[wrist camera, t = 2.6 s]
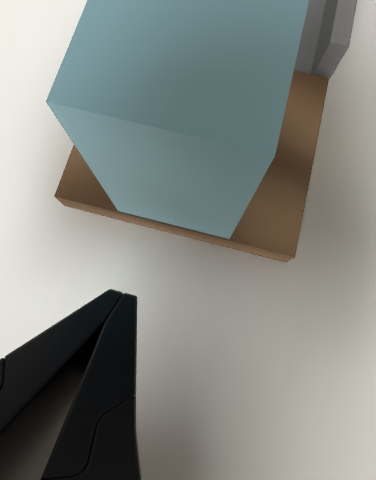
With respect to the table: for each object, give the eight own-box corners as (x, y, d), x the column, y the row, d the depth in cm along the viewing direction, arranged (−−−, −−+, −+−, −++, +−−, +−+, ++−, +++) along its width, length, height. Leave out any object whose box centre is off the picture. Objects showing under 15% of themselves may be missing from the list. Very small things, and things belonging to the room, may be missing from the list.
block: (229, 239, 17) (275, 155, 8) (118, 211, 17) (45, 101, 8) (257, 122, 18) (321, -55, 10) (154, 98, 19) (126, -94, 10)
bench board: (286, 262, 18) (294, 257, 17) (64, 205, 19) (54, 196, 17) (318, 94, 20) (328, 77, 19) (121, 50, 21) (116, 31, 20)
